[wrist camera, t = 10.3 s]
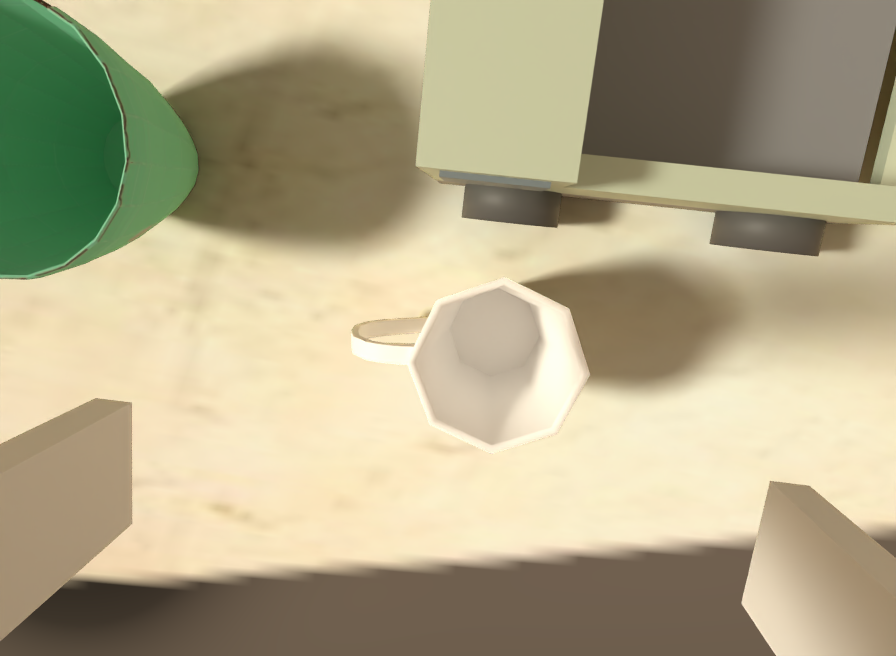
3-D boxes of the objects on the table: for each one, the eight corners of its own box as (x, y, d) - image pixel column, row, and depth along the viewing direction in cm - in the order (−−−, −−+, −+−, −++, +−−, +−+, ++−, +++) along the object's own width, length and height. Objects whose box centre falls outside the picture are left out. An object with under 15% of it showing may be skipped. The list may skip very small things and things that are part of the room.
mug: (224, 42, 28) (86, -50, 18) (264, 245, 30) (158, 261, 20) (-54, 89, 29) (-323, 28, 19) (1, 281, 31) (-220, 314, 21)
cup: (555, 397, 31) (581, 461, 23) (367, 383, 31) (328, 442, 23) (568, 263, 29) (600, 282, 21) (371, 251, 30) (331, 266, 22)
